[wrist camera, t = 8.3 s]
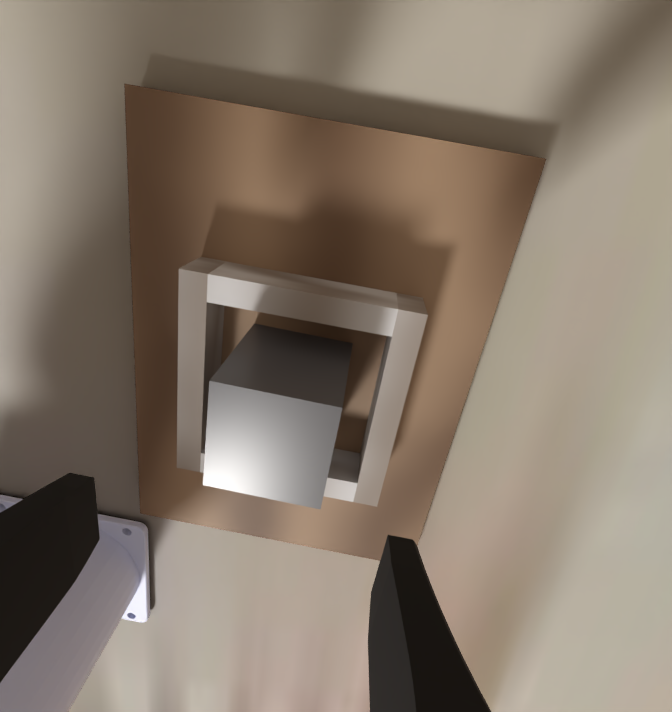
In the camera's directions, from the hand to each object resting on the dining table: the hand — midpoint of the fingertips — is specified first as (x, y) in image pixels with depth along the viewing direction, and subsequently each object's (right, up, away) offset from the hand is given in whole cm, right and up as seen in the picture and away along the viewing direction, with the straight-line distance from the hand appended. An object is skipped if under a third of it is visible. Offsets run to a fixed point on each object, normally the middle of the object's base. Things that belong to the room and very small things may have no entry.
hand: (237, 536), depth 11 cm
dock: (+1, +4, +8) cm, 9 cm away
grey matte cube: (+1, +4, +8) cm, 8 cm away
